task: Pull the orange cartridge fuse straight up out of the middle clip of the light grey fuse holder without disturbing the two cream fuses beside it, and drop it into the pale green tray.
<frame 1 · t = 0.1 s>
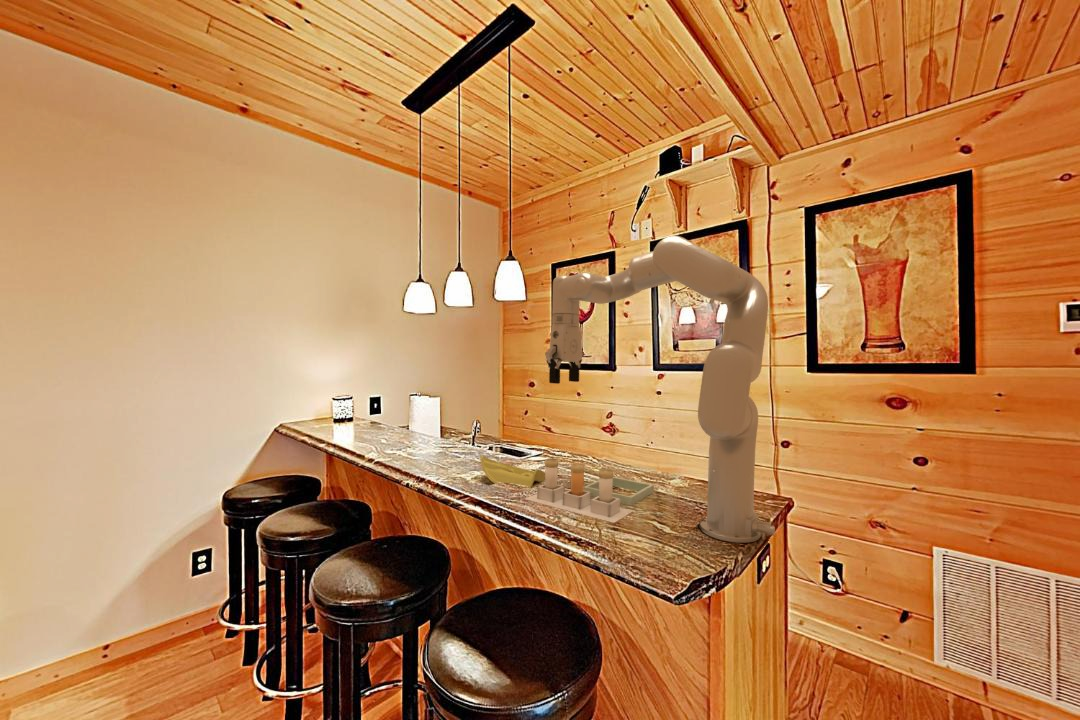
hand: (564, 382, 130), 31 cm above the countertop, tool pointing down, fingers open, 9 cm apart
tray: (618, 498, 126), on the countertop
fuse holder: (576, 510, 116), on the countertop
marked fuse: (577, 504, 116), point 1 cm above the countertop, touching fuse holder
fuse 2: (605, 511, 111), point 1 cm above the countertop, touching fuse holder
plastic component: (511, 483, 139), on the countertop
fuse 1: (550, 498, 121), point 1 cm above the countertop, touching fuse holder
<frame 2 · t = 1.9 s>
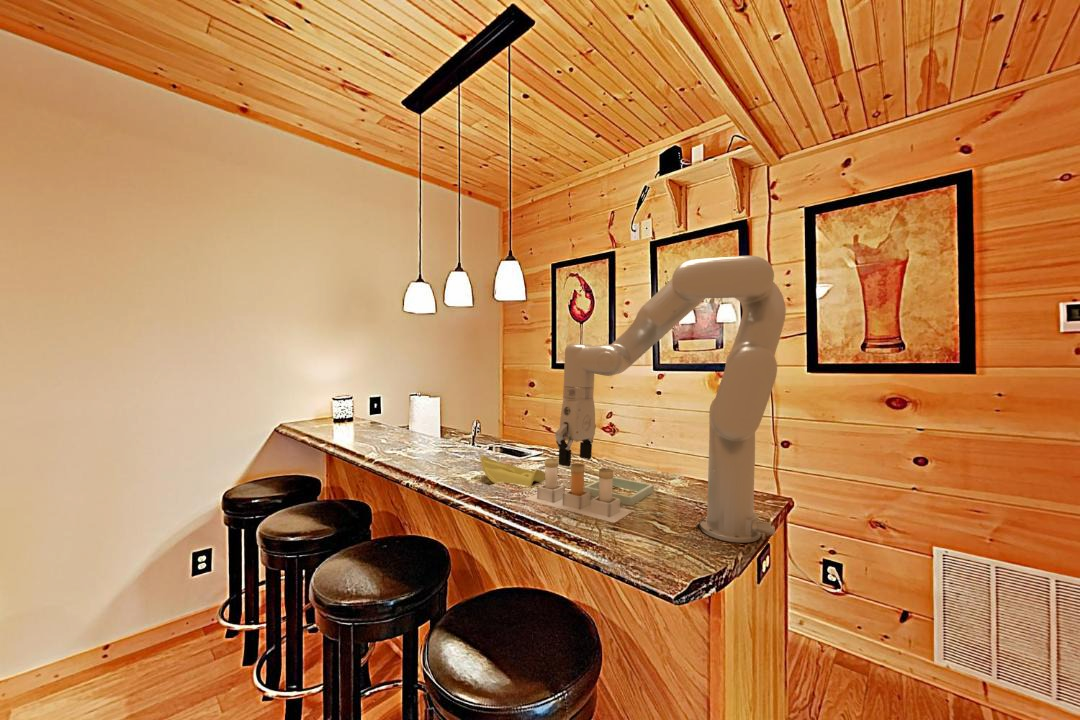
hand: (575, 461, 116), 12 cm above the countertop, tool pointing down, fingers open, 9 cm apart
nothing on the countertop moved.
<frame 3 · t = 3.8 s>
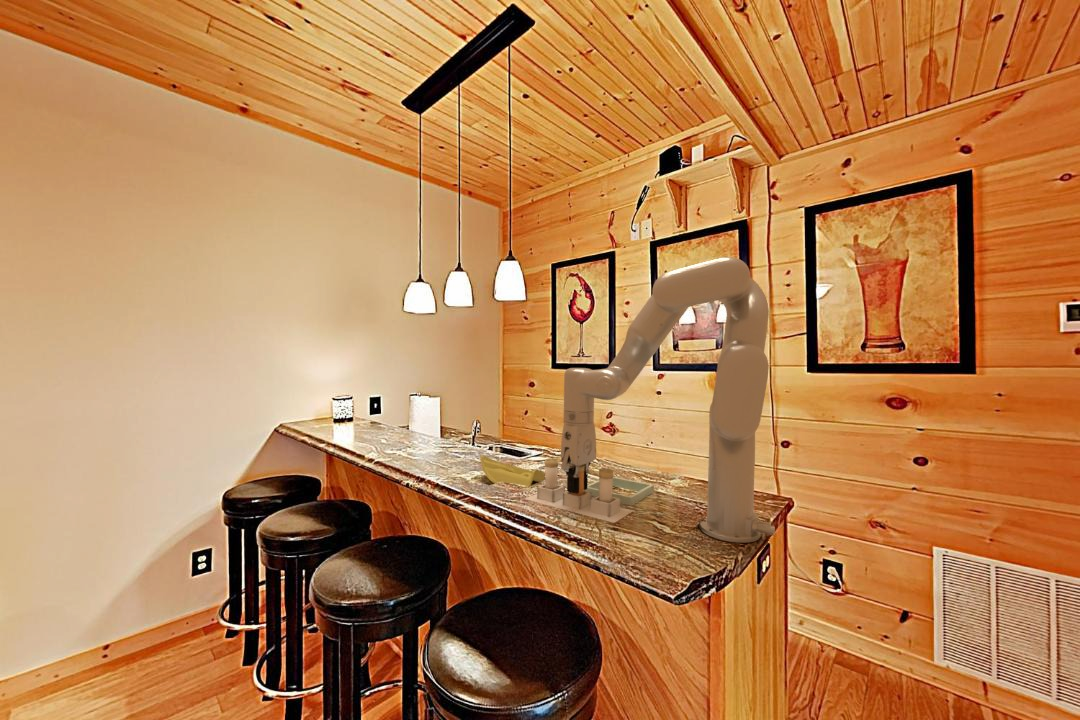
hand: (577, 489, 116), 5 cm above the countertop, tool pointing down, fingers closed on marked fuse, 3 cm apart
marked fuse: (577, 504, 116), point 1 cm above the countertop, touching fuse holder, gripper
everything else where it was.
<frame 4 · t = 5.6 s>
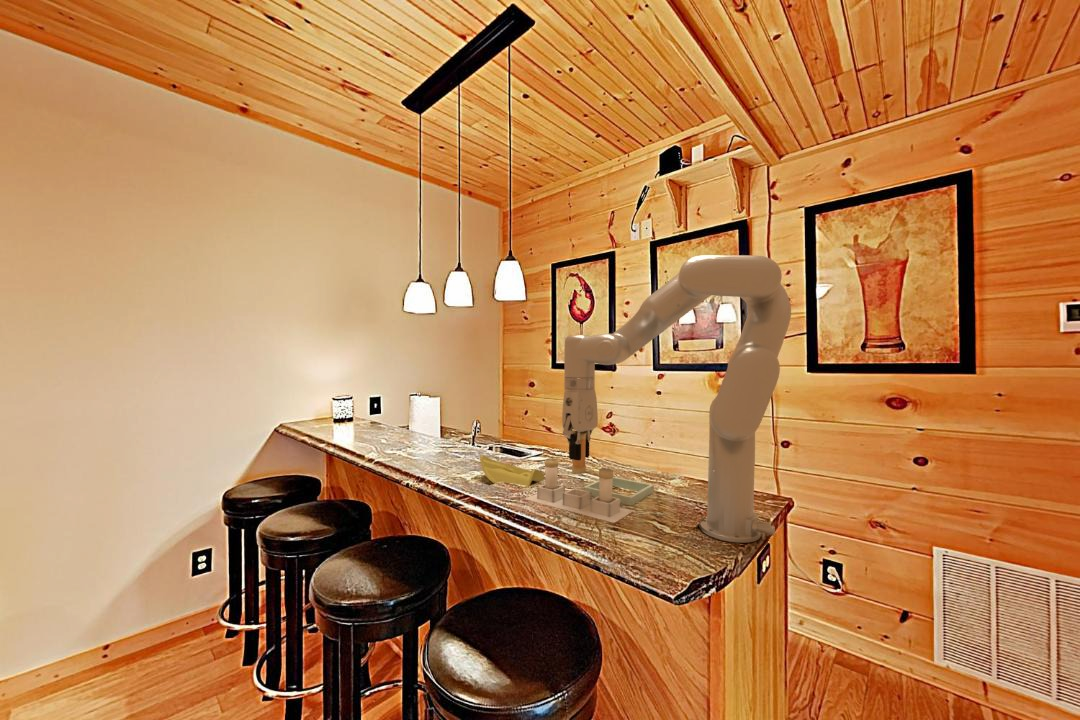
hand: (579, 457, 116), 13 cm above the countertop, tool pointing down, fingers closed on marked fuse, 3 cm apart
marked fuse: (578, 472, 116), point 10 cm above the countertop, touching gripper
everything else where it was.
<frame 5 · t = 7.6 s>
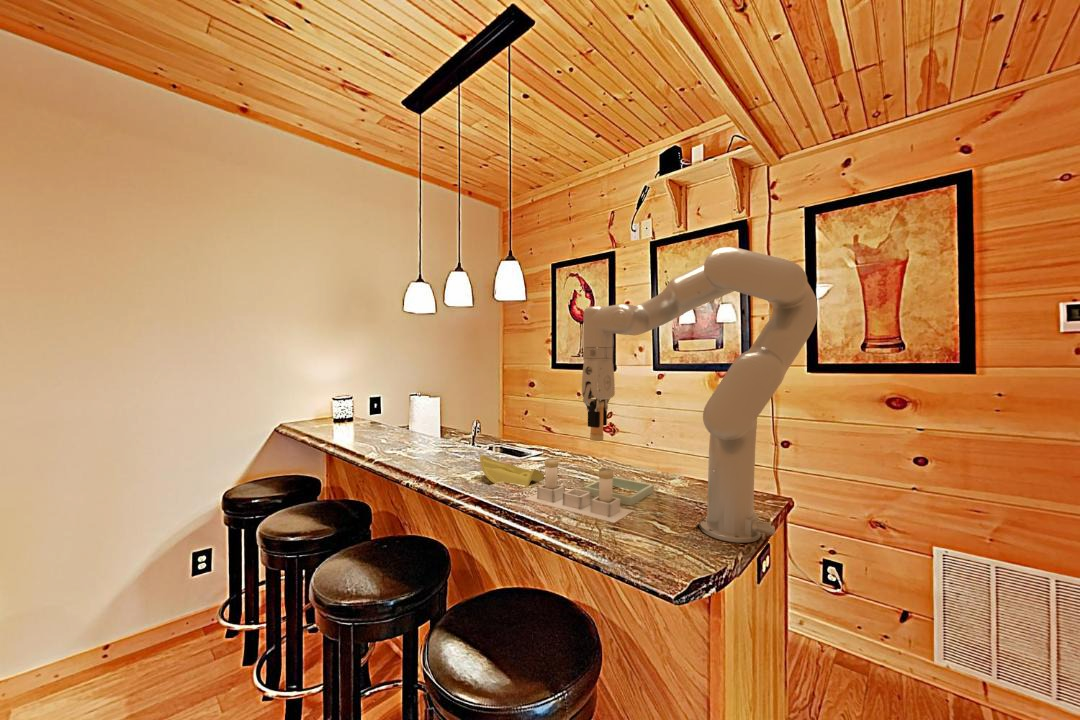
hand: (597, 425, 119), 21 cm above the countertop, tool pointing down, fingers closed on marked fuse, 3 cm apart
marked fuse: (596, 439, 120), point 17 cm above the countertop, touching gripper
everything else where it was.
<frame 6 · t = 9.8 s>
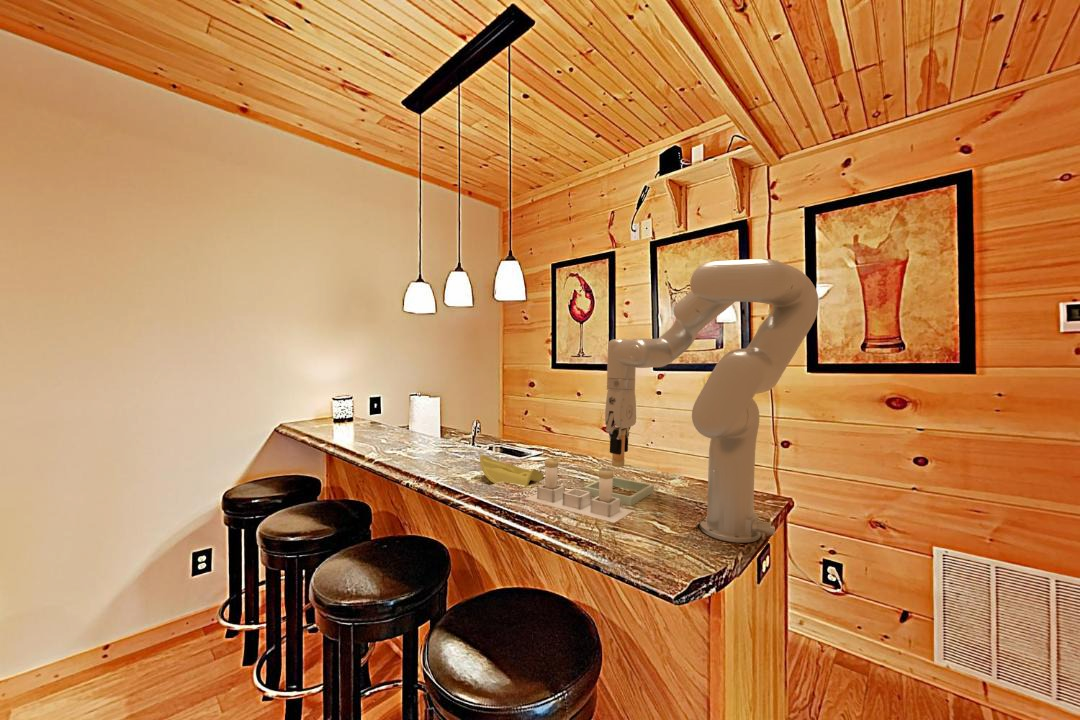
hand: (618, 451, 126), 13 cm above the countertop, tool pointing down, fingers closed on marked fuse, 3 cm apart
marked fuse: (617, 465, 126), point 9 cm above the countertop, touching gripper
when the fingers open (7 cm above the countertop, at t = 11.6 s): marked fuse drops 2 cm, resting on tray.
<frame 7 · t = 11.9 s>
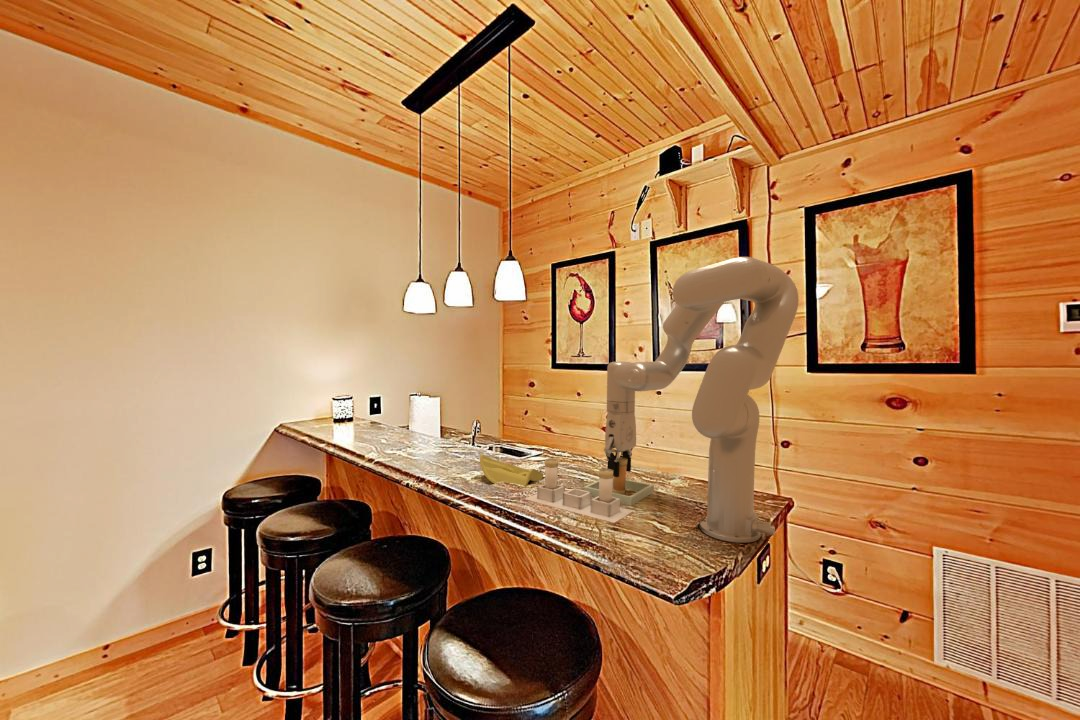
hand: (619, 472, 126), 7 cm above the countertop, tool pointing down, fingers open, 6 cm apart
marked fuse: (618, 494, 126), point 1 cm above the countertop, touching tray
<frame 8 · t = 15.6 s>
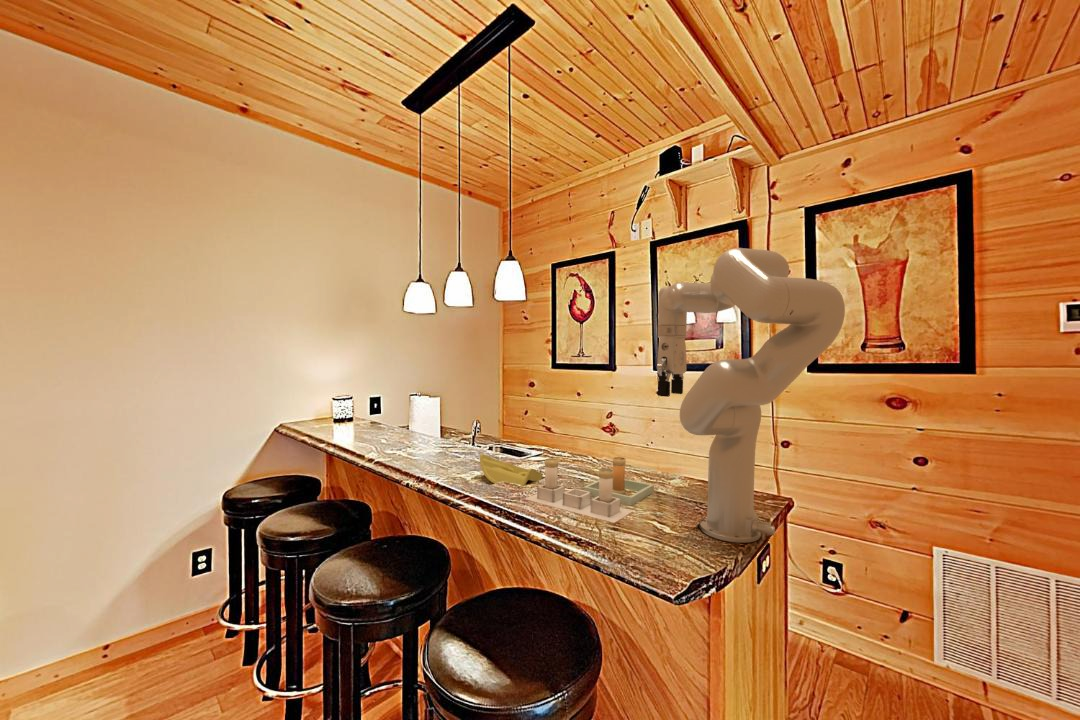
hand: (670, 394, 127), 28 cm above the countertop, tool pointing down, fingers open, 9 cm apart
at the end: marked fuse inside the target area on the tray (0.1 cm from its centre), point 1.0 cm above the tray's base; fuse 2 moved 0.0 cm from its start; fuse 1 moved 0.0 cm from its start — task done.
